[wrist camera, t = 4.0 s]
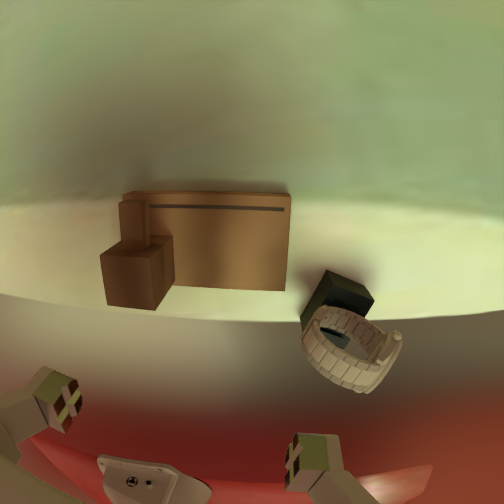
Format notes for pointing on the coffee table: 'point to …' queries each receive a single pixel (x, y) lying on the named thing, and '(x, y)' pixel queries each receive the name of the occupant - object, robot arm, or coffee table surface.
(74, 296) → the coffee table surface
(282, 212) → the board
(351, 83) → the coffee table surface
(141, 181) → the coffee table surface
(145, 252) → the brown stepped block
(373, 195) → the coffee table surface
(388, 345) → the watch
